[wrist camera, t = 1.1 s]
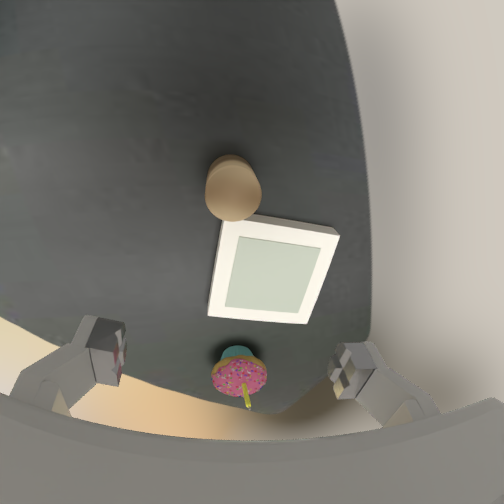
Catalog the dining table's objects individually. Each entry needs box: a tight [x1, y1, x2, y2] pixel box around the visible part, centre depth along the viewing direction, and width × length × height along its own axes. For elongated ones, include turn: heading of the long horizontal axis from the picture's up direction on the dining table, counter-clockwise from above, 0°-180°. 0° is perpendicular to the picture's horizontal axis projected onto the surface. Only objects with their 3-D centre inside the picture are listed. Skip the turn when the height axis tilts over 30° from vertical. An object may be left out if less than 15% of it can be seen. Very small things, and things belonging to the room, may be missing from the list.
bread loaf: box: [205, 155, 262, 222], centre depth 31 cm, size 5×5×7 cm
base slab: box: [208, 214, 340, 324], centre depth 39 cm, size 14×14×3 cm
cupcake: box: [211, 345, 267, 410], centre depth 42 cm, size 9×8×12 cm
